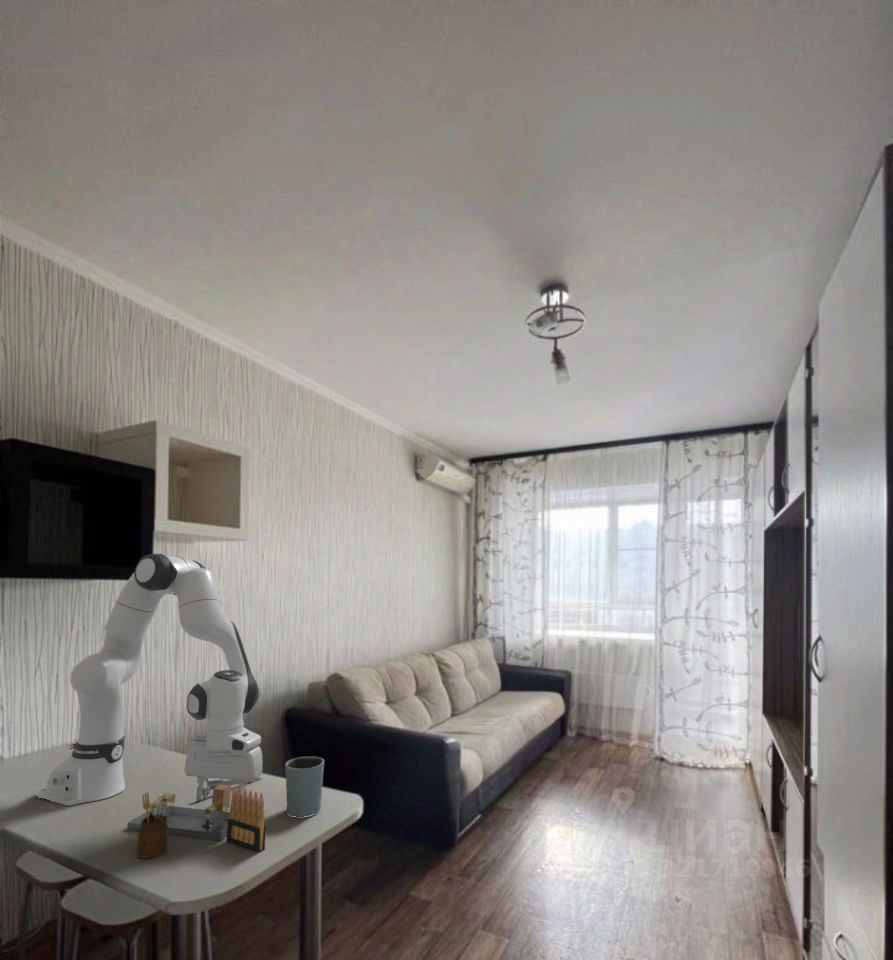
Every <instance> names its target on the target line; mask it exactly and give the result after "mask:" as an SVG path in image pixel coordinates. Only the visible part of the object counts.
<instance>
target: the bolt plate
mask: <svg viewBox="0 0 893 960" xmlns="http://www.w3.org/2000/svg"><path fill="white" fill-rule="evenodd" d="M161 801H165V802H166V803H165V802H164V803H163V802H161ZM158 802H159V803H158ZM149 803H150V806H149V808H148V816H151V815H156V814H165V816H166V817H167V823H166V825H167V827H168V835H170V834H173V835H172V836H180V837H189V838H196V839H197V838H198V839H205V840H212V841H223V840H224V839H225V837H226V838H227V826H228V818H229V819H230V808H229V809H228V808H227V809H226V810H224V811H223V812H220V811H213V812H211V813H210V823H209V824H206V816H207V814H205V809H206V808H207V807H208V806H201V805H193V804H191V805H190V804H183V803H176V793H170V792H164V793H163V794H161V795H158V796H156V799H155V800H154V801H151V802H149ZM157 803H158V805H157ZM161 803H162V804H161ZM164 804H165V805H164ZM166 804H167V805H166ZM161 805H162V807H161ZM166 806H167V808H166ZM155 807H156V808H157V809H156V808H155ZM160 807H161V808H160ZM164 807H165V809H164ZM156 810H157V811H156ZM160 810H161V812H160ZM164 810H165V811H164ZM154 811H155V812H154ZM159 812H160V813H159ZM146 817H147V816H146V811H145V812H143V813H142V814H140V815H139V816H137V817H134V818H133V819H131V820H130V821H128V822H127V828H126V829H127V830H129V829H134V830H133V831H137V830H140V829H141V822H142V820H143V819H144V818H146Z"/></svg>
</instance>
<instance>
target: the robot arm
mask: <svg viewBox="0 0 893 960" xmlns="http://www.w3.org/2000/svg"><path fill="white" fill-rule="evenodd" d="M165 595H174V596H176V597H177V603H178V605H177V606H178V617H179V623H180V625H181V628H182V629H183V631H184V632H185V633H187V635H189V636H191V637H192V638H195V639H198V640H201V641H206V642H209V643H211V644H213V645H216V646H218V648H220V649H221V650H222V651H223V653H224V656H225V660H226V663H227V664H228V665H227V666H228V668H229V669H224V670H218V671H217V672H214V674H212V675H211V678H209V679H207V680H205V681H202V682H199V683H196V684H195V685H194V686H192V688H191V689H190V691H189V693H188V695H187V701H186V710H187V713H188V714H189V715H190V717H192V719H193V718H194V719H195V720H197V721H205V720H206V721H207V725H206V736H199V735H195V736H193V737H192V738H191V739H189V740H188V743H187V752H186V753H187V754H186V758H185V762H184V763H185V764H184V769H183V770H184V773H185V775H186V777H195V778H196V781H197V784H198V785H199V787H200V788H201V793H200V795H202V796H201V797H203V796H207V795H208V794H209V795H210V793H211V790H210V786H207V783H206V780H205V779H206V778H208V779H223V780H227V779H228V780H238V784H237V785H239V787H238V788H236V789H237V794H238V790H239V788H240V787H241V790H242V798H243V793H244V790H245V789H246V786H247V785H248V784H249V783H248V781H250V782H252V781H254V780H256V779H257V778H261V775H262V774H263V752H262V747H260V746H259V745H260V744H261V743H262V737H261V735H260V734H258V733H256V732H254V731H251V730H249V729H247V728H246V727H244V725H245V721H244V719H243V718H244V717H243V715H244V714H248V713H249V712H251V711H252V710H253V709H254V707H255V706H256V704H257V702H258V700H259V698H260V689H259V686H258V683H257V680H256V679H255V677H254V675H253V673H252V672H253V671H252V670H251V667H250V664H249V661H248V658H247V657H248V656H247V654H246V651H245V648H244V646H243V642H242V639H241V636H240V633H239V630H238V628H237V625H236V624H235V623H234V622H233V621H231V620H230V619H229V618H228V617H227V615H226V614H225V612H224V610H223V608H222V603H221V595H220V592H219V587H218V584H217V581H216V578H215V576H214V574H213V572H212V571H211V570H209V569H207V568H206V567H205V566H204V565H203V564H202V563H200V562H198V561H196V560H191V559H188V558H185V557H182V556H179V555H178V556H177V555H176V556H175V555H166V554H164V553H150V554H147V555H144V556H143V557H141V559H140V560H139V561H138V562H137V564H136V566H135V569H134V572H133V573H132V575H131V576H130V577H129V578H128V580H127V581H126V583H125V585H124V587H123V588H122V589H121V590H120V593H119V594H118V597H117V599H116V601H115V602H114V605H113V608H112V610H111V611H110V614H109V616H108V618H107V621H106V623H105V625H104V630H105V637H104V641H103V645H102V648H101V649H100V650H99V652H97V653H94V654H90V655H88V656H86V657H84V659H82V660H81V661H79V662H78V663H77V664H76V665H75V666H74V667H73V669H72V670H71V673H70V684H71V687H72V688H73V689H74V691H75V692H76V694H77V698H78V704H79V705H78V706H79V712H80V715H79V716H80V717H79V729H78V740H77V742H75V743H73V744H70V745H69V747H70V748H68V749H69V750H72V749H73V750H72V751H71V756H69V757H68V758H67V759H66V760H64V761H63V762H62V763H60V764H58V766H56V767H55V768H54V769H53V770H52V771H51V773H50V774H49V776H48V779H47V786H46V787H43V788H42V789H40V790H39V791H37V792H36V794H35V797H36V796H38V797H42V798H45V799H47V800H50V801H49V802H51V801H53V802H52V803H54V802H57V803H56V804H58V803H60V804H59V805H62V804H63V806H66V805H67V807H68V806H69V805H70V806H74V805H79V804H83V803H90V802H96V801H100V800H103V799H108V798H110V797H113V796H115V795H118V794H120V793H122V792H123V791H124V790H125V789H126V783H125V776H124V761H123V758H124V756H123V753H124V750H125V742H126V741H125V736H124V729H125V719H126V708H125V705H124V704H123V702H122V696H121V689H120V688H121V685H122V684H124V683H126V682H127V681H129V680H130V679H131V678H132V677H133V676H134V675H135V673H136V672H137V671H138V670H139V667H140V664H141V663H140V661H141V660H140V656H141V651H142V648H143V643H144V639H145V636H146V634H147V632H148V629H149V627H150V624H151V622H152V621H153V617H154V615H155V613H156V610H157V608H158V605H159V604H160V601H161V599H162V598H163V597H164V596H165ZM252 783H253V782H252ZM209 795H208V796H209ZM47 800H46V801H47ZM70 806H69V807H70Z"/></svg>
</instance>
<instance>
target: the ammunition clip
mask: <svg viewBox="0 0 893 960" xmlns="http://www.w3.org/2000/svg"><path fill="white" fill-rule="evenodd" d="M236 786H237V785H233V789H232V792H231V798H230V807H229V809H230V819H229V818H228V826H227V837H226V841H225V842H226V843H228V844H230V845H234V846H236V847H239V848H243V849H245V850H248V849H249V851H251V850H252V851H251V852H254V851H255V852H254V853H257V852H258V853H257V854H259V853H261V852H262V851H264V850H265V849H266V824H265V807H264V806H265V805H264V804H265V800H264V795H263V793H262V792H260V795H258V792H257V791H255V792H254V794H253V791H252V790H251V789H250V790H249V792H248V791H247V788H244V789H243V797H242V790H241V787H240V786H239V787H240V788H239V787H238V788H237V787H236ZM237 789H239V790H238V794H237Z"/></svg>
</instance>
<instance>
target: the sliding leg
mask: <svg viewBox="0 0 893 960" xmlns="http://www.w3.org/2000/svg"><path fill="white" fill-rule="evenodd" d="M212 790H213V791H212V799H211V800H212V801H211V802H212V803H211V805H209V806H206V807H207V808H206V809H205V814H207V816H206V824H209V823H210V813H211V812H213V811H220V812H223V811H224V810H226V809H228V808H229V809H230V805H231V796H232V792H231V791H232V785H221V784H220V785H219V786H217V787H216V788H214V789H212Z"/></svg>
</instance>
